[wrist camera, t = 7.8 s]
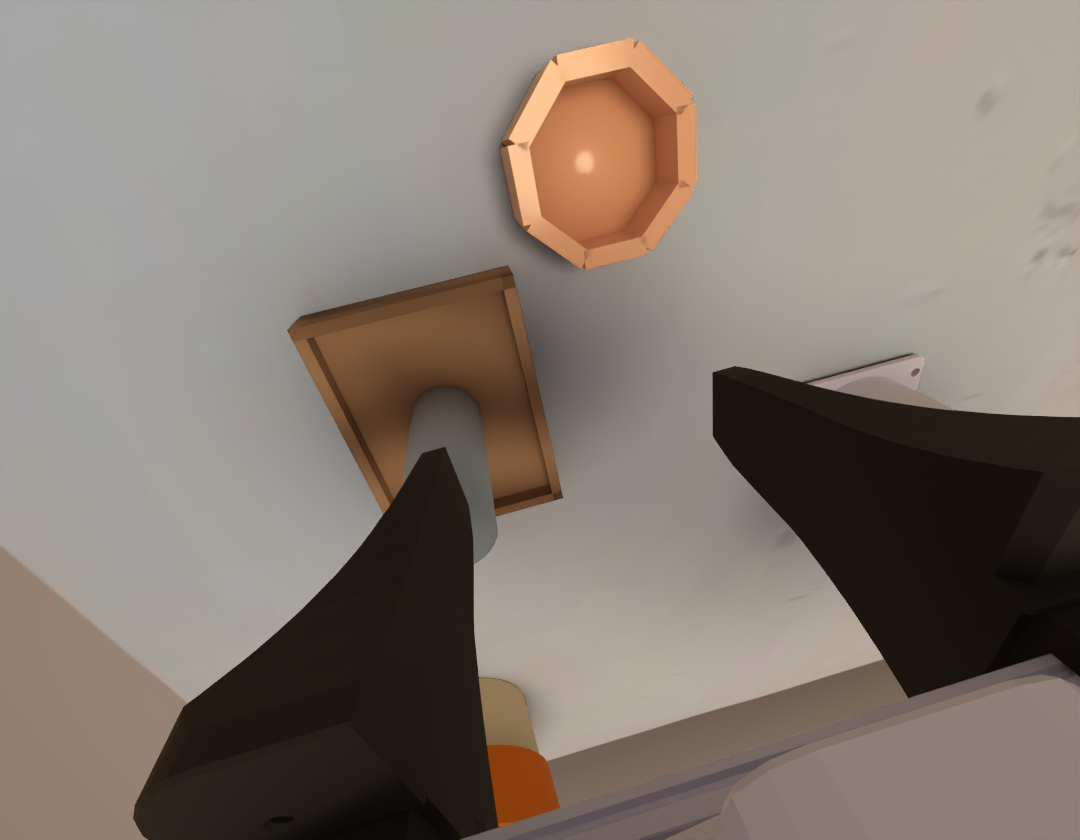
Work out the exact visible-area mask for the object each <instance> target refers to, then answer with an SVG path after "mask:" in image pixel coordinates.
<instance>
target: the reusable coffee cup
mask: <svg viewBox="0 0 1080 840" xmlns="http://www.w3.org/2000/svg"><path fill="white" fill-rule="evenodd" d="M479 685H480V693H481V702H482V710H483V719H484V726H485V734H486V741H487V749H488V757H489V764H490V772H491V778H492V785H493V792H494V799H495V806H496V812H497V819H498V826H499V827H502V826H505V825H508V824H511V823H514V822H517V821H521V820H524V819H527V818H530V817H533V816H536V815H540V814H543V813H546V812H549V811H552V810H556V809H559V808H560V806H559V803H558V799H557V795H556V791H555V788H554V784H553V780H552V777H551V773H550V770H549V766H548V763H547V762H546V760H545V758H544V757H543V756H541V755H540V754H539V751H538V747H537V744H536V740H535V736H534V732H533V729H532V725H531V721H530V717H529V714H528V710H527V706H526V702H525V699H524V695H523V694H522V692H521V690H520V689H519V688H517V687H516V686H515V685H513V684H511V683H509V682H506V681H503V680H500V679H493V678H479Z"/></svg>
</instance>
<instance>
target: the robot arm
mask: <svg viewBox="0 0 1080 840" xmlns="http://www.w3.org/2000/svg"><path fill="white" fill-rule="evenodd" d="M924 363H925V358H924V357H923V356H920V355H918V354H914V355H910V356H906V357H903V358H899V359H895V360H892V361H888V362H884V363H880V364H877V365H873V366H869V367H866V368H862V369H858V370H855V371H851V372H847V373H843V374H840V375H836V376H832V377H829V378H825V379H821V380H817V381H814V382H810V383H802V382H798V381H794V380H791V379H787V378H783V377H779V376H776V375H772V374H768V373H764V372H760V371H756V370H752V369H747V368H742V367H736V366H734V367H731V368H727V369H723V370H720V371H716V372H713V437H714V438H715V440H716V442H717V443H718V445H719V446H720V448H721V449H722V451H723V452H724V454H725V455H726V456H727V458H728V459H729V461H730V462H731V463H732V465H733V466H734V467H735V468H736V469H737V470H738V471H739V473H740V474H741V475H742V476H743V477H744V478H745V479H746V480H747V481H748V482H749V483H750V484H751V486H752V487H753V488H754V489H755V490H756V491H757V492H758V493H759V494H760V495H761V496H762V497H763V498H764V499H765V500H766V502H767V503H768V504H769V505H770V506H771V507H772V508H773V509H774V510H775V511H776V512H777V513H778V514H779V515H780V516H781V518H782V519H783V520H784V521H785V522H786V523H787V524H788V525H789V526H790V527H791V529H792V530H793V531H794V532H795V533H796V534H797V536H798V537H799V538H800V539H801V540H802V542H803V543H804V544H805V546H806V547H807V548H808V550H809V551H810V552H811V554H812V555H813V556H814V557H815V559H816V560H817V561H818V563H819V564H820V565H821V567H822V568H823V569H824V571H825V572H826V574H827V575H828V576H829V578H830V579H831V581H832V582H833V583H834V585H835V586H836V588H837V589H838V590H839V592H840V593H841V595H842V596H843V597H844V599H845V600H846V602H847V603H848V605H849V606H850V607H851V609H852V610H853V612H854V613H855V615H856V616H857V618H858V619H859V621H860V622H861V624H862V625H863V627H864V628H865V630H866V632H867V633H868V635H869V636H870V638H871V639H872V641H873V642H874V644H875V645H876V647H877V648H878V650H879V651H880V653H881V654H882V656H883V658H884V659H885V661H886V663H887V664H888V666H889V667H890V669H891V671H892V672H893V674H894V676H895V677H896V679H897V680H898V682H899V683H900V685H901V687H902V688H903V690H904V692H905V693H906V695H907V697H908V699H905V700H901V701H898V702H895V703H892V704H889V705H885V706H882V707H879V708H876V709H873V710H869V711H866V712H863V713H860V714H857V715H854V716H850V717H847V718H844V719H841V720H838V721H834V722H832V723H828V724H825V725H822V726H819V727H816V728H812V729H809V730H806V731H803V732H800V733H796V734H793V735H790V736H787V737H784V738H781V739H777V740H774V741H771V742H768V743H765V744H762V745H759V746H756V747H752V748H749V749H746V750H743V751H740V752H737V753H733V754H730V755H727V756H724V757H721V758H717V759H714V760H711V761H708V762H705V763H701V764H698V765H695V766H692V767H689V768H685V769H682V770H679V771H676V772H673V773H670V774H666V775H663V776H660V777H657V778H654V779H651V780H647V781H645V782H641V783H638V784H635V785H632V786H629V787H625V788H622V789H619V790H616V791H613V792H609V793H606V794H603V795H600V796H597V797H594V798H591V799H587V800H584V801H581V802H578V803H575V804H571V805H568V806H565V807H562V808H559V809H556V810H552V811H549V812H546V813H543V814H540V815H536V816H533V817H530V818H527V819H524V820H521V821H517V822H514V823H511V824H508V825H505V826H502V827H499V826H498V819H497V812H496V806H495V799H494V792H493V785H492V778H491V772H490V764H489V757H488V749H487V741H486V734H485V726H484V719H483V710H482V702H481V693H480V685H479V676H478V666H477V657H476V647H475V637H474V551H473V532H472V524H471V517H470V510H469V504H468V502H467V499H466V497H465V494H464V492H463V489H462V487H461V484H460V482H459V479H458V477H457V474H456V472H455V469H454V467H453V465H452V462H451V460H450V457H449V455H448V452H447V450H446V447H442V448H439V449H435V450H431V451H428V452H424V453H422V454H421V456H420V457H419V459H418V461H417V462H416V464H415V465H414V467H413V469H412V470H411V472H410V474H409V475H408V477H407V479H406V480H405V482H404V484H403V485H402V487H401V489H400V490H399V492H398V494H397V495H396V497H395V498H394V500H393V501H392V503H391V505H390V506H389V508H388V509H387V510H386V512H385V513H384V515H383V516H382V518H381V519H380V520H379V522H378V523H377V525H376V526H375V527H374V529H373V530H372V532H371V533H370V534H369V536H368V537H367V538H366V540H365V541H364V542H363V544H362V545H361V546H360V547H359V549H358V550H357V551H356V552H355V553H354V555H353V556H352V557H351V558H350V559H349V560H348V562H347V563H346V564H345V565H344V566H343V567H342V569H341V570H340V571H339V572H338V573H337V574H336V575H335V576H334V577H333V578H332V579H331V580H330V581H329V582H328V583H327V584H326V585H325V587H324V588H323V589H322V590H321V591H320V592H319V593H318V594H317V595H316V596H315V597H314V598H313V599H312V600H311V601H310V602H309V603H308V604H307V605H306V606H305V607H304V608H303V609H302V610H301V611H300V612H299V613H298V614H296V615H295V616H294V617H293V618H292V619H291V620H290V621H289V622H288V623H287V624H286V625H284V626H283V627H282V628H281V629H280V630H279V631H278V632H277V633H275V634H274V635H273V636H272V637H271V638H270V639H269V640H267V641H266V642H265V643H264V644H263V645H262V646H260V647H259V648H258V649H257V650H256V651H255V652H253V653H252V654H251V655H250V656H248V657H247V658H246V659H245V660H244V661H242V662H241V663H240V664H239V665H237V666H236V667H235V668H233V669H232V670H231V671H230V672H228V673H227V674H226V675H224V676H223V677H222V678H221V679H219V680H218V681H217V682H215V683H214V684H213V685H212V686H210V687H209V688H208V689H206V690H205V691H204V692H203V693H201V694H200V695H199V696H197V697H196V698H195V699H193V700H192V701H191V702H189V703H188V704H187V705H185V706H184V707H183V709H182V711H181V713H180V715H179V717H178V719H177V721H176V723H175V725H174V727H173V729H172V731H171V733H170V735H169V737H168V739H167V741H166V743H165V745H164V747H163V749H162V751H161V753H160V755H159V757H158V759H157V761H156V763H155V765H154V768H153V769H152V772H151V774H150V776H149V778H148V780H147V782H146V784H145V786H144V788H143V790H142V792H141V794H140V796H139V798H138V800H137V802H136V804H135V809H134V817H133V819H134V821H135V823H136V825H137V827H138V828H139V830H140V832H141V834H142V835H143V836H144V837H145V838H147V839H148V840H1080V417H1048V416H1021V415H1004V414H988V413H977V412H966V411H956V410H954V409H951V408H949V407H947V406H945V405H943V404H941V403H939V402H937V401H935V400H933V399H931V398H929V397H927V396H925V395H923V394H921V393H919V392H917V387H918V384H919V381H920V377H921V374H922V370H923V367H924Z"/></svg>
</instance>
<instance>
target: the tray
mask: <svg viewBox="0 0 1080 840" xmlns="http://www.w3.org/2000/svg"><path fill="white" fill-rule="evenodd" d="M287 331H288V333H289V335H290V337H291V339H292V340H293V342H294V344H295V346H296V348H297V350H298V352H299V354H300V356H301V358H302V359H303V361H304V363H305V365H306V367H307V369H308V371H309V373H310V375H311V377H312V379H313V380H314V382H315V384H316V386H317V388H318V390H319V392H320V394H321V396H322V398H323V399H324V401H325V403H326V405H327V407H328V409H329V411H330V413H331V415H332V417H333V418H334V420H335V422H336V424H337V426H338V428H339V430H340V432H341V434H342V436H343V437H344V439H345V441H346V443H347V445H348V447H349V449H350V451H351V453H352V455H353V456H354V458H355V460H356V462H357V464H358V466H359V468H360V470H361V472H362V474H363V476H364V477H365V479H366V481H367V483H368V485H369V487H370V489H371V491H372V493H373V495H374V496H375V498H376V500H377V502H378V504H379V506H380V508H381V510H382V512H383V514H384V513H385V512H386V510H387V509H388V508H389V506H390V505H391V503H392V501H393V500H394V498H395V497H396V495H397V494H398V492H399V490H400V489H401V487H402V481H403V474H404V467H405V460H406V453H407V446H408V438H409V431H410V424H411V417H412V410H413V407H414V404H415V402H416V401H417V399H418V398H419V397H420V396H421V395H422V394H423V393H424V392H426V391H427V390H429V389H431V388H434V387H438V386H455V387H459V388H461V389H463V390H465V391H467V392H469V393H470V394H471V395H472V396H473V397H474V398H475V399H476V401H477V402H478V405H479V407H480V411H481V418H482V425H483V432H484V439H485V446H486V453H487V460H488V467H489V474H490V481H491V488H492V495H493V502H494V509H495V516H499V515H503V514H506V513H510V512H514V511H517V510H521V509H525V508H528V507H532V506H536V505H539V504H543V503H546V502H550V501H554V500H557V499H561V498H563V496H562V491H561V487H560V482H559V478H558V473H557V469H556V464H555V460H554V456H553V451H552V447H551V442H550V438H549V433H548V429H547V424H546V420H545V415H544V411H543V406H542V402H541V398H540V393H539V389H538V384H537V380H536V375H535V371H534V366H533V362H532V357H531V353H530V348H529V344H528V339H527V335H526V331H525V326H524V322H523V317H522V313H521V308H520V304H519V299H518V295H517V290H516V286H515V281H514V277H513V274H512V272H511V270H510V269H509V267H508V266H504V267H500V268H496V269H492V270H488V271H484V272H480V273H476V274H472V275H468V276H464V277H460V278H456V279H451V280H447V281H443V282H439V283H435V284H431V285H427V286H423V287H419V288H415V289H411V290H407V291H403V292H399V293H395V294H390V295H386V296H382V297H378V298H374V299H370V300H366V301H362V302H358V303H354V304H350V305H346V306H342V307H338V308H334V309H329V310H325V311H321V312H317V313H313V314H309V315H305V316H301V317H300V318H299V319H298V320H297V321H296V322H295V323H294V324H293V325H292V326H291V327H290V328H289V329H288V330H287Z"/></svg>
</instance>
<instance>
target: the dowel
mask: <svg viewBox="0 0 1080 840" xmlns="http://www.w3.org/2000/svg"><path fill="white" fill-rule="evenodd" d="M442 447H446V450H447V452H448V455H449V457H450V460H451V462H452V465H453V467H454V469H455V472H456V474H457V477H458V479H459V482H460V484H461V487H462V489H463V492H464V494H465V497H466V499H467V502H468V504H469V510H470V517H471V524H472V532H473V551H474V563H476V562H478V561H479V560H481V559H482V558H483V557H485V556H486V555H487V554H488V553H489V551H490V550H491V549H492V547H493V545H494V544H495V541H496V538H497V523H496V516H495V509H494V502H493V495H492V488H491V481H490V474H489V467H488V460H487V453H486V446H485V439H484V432H483V425H482V418H481V411H480V407H479V405H478V402H477V401H476V399H475V398H474V397H473V396H472V395H471V394H470V393H469V392H467V391H465V390H463V389H461V388H459V387H455V386H438V387H434V388H431V389H429V390H427V391H426V392H424V393H423V394H422V395H421V396H420V397H419V398H418V399H417V401H416V402H415V404H414V407H413V410H412V417H411V424H410V431H409V438H408V446H407V453H406V460H405V467H404V474H403V481H402V485H403V484H404V482H405V480H406V479H407V477H408V475H409V474H410V472H411V470H412V469H413V467H414V465H415V464H416V462H417V461H418V459H419V457H420V456H421V454H422V453H424V452H428V451H431V450H435V449H439V448H442Z"/></svg>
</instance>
